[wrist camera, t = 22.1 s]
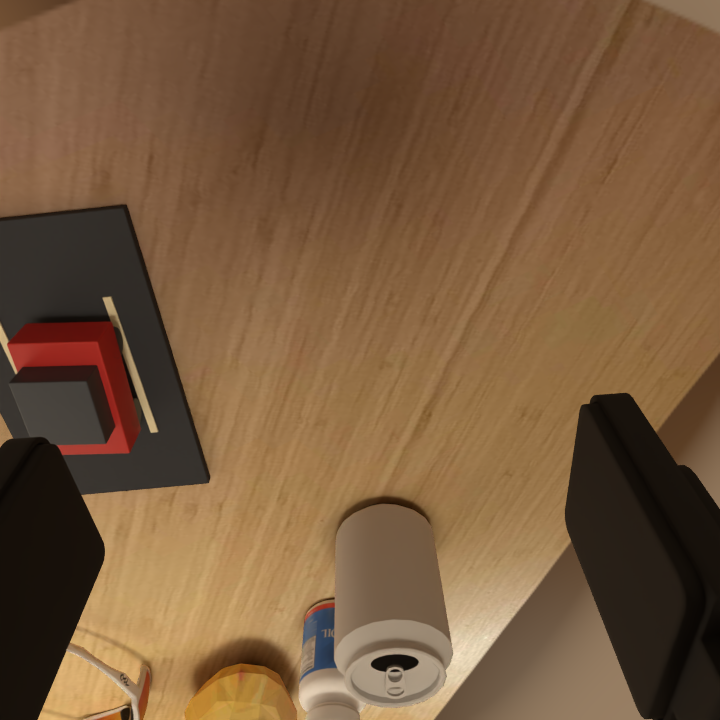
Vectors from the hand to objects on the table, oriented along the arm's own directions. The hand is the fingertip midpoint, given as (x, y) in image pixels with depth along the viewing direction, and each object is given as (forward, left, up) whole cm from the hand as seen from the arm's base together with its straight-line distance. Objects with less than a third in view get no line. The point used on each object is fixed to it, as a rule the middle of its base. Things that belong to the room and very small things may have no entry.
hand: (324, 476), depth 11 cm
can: (+28, 0, -25) cm, 37 cm away
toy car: (+11, -14, -21) cm, 28 cm away
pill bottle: (+38, -5, -25) cm, 46 cm away
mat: (+11, -18, -24) cm, 32 cm away
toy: (+48, -15, -25) cm, 56 cm away
